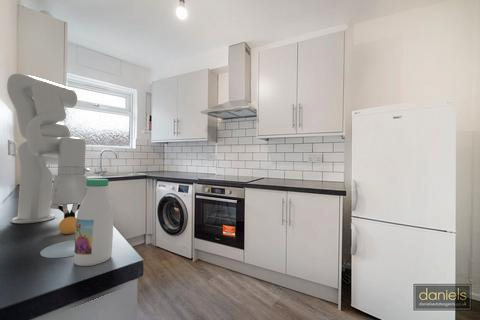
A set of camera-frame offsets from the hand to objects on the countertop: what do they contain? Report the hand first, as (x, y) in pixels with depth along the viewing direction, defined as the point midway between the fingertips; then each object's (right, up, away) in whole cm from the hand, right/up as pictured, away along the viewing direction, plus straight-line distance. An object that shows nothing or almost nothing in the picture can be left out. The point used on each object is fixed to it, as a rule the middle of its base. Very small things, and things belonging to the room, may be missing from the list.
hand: (69, 223), depth 76 cm
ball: (+4, +1, -5) cm, 6 cm away
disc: (+14, -2, -16) cm, 21 cm away
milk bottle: (+24, -2, -23) cm, 33 cm away
